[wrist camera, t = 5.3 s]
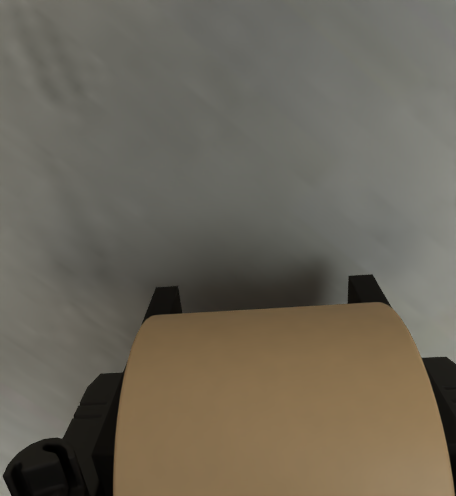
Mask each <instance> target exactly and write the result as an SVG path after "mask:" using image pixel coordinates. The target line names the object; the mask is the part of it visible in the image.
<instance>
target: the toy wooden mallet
mask: <svg viewBox="0 0 456 496" xmlns="http://www.w3.org/2000/svg"><path fill="white" fill-rule="evenodd" d="M113 496H455V493H454V484H453V477H452V471H451V465H450V459H449V453H448V448H447V443H446V439H445V434H444V429H443V425H442V421H441V417H440V414H439V410H438V406H437V402H436V399H435V396H434V393H433V389H432V386H431V383H430V380H429V377H428V374H427V372H426V369H425V366H424V363H423V361H422V358H421V356H420V354H419V351H418V349H417V347H416V344H415V342H414V340H413V338H412V336H411V334H410V332H409V330H408V329H407V327H406V325H405V324H404V322H403V321H402V319H401V318H400V317H399V315H398V314H397V313H396V312H395V311H394V310H393V309H392V308H391V307H390V306H388V305H386V304H384V303H381V302H371V303H354V304H336V305H319V306H302V307H285V308H268V309H251V310H234V311H216V312H199V313H182V314H165V315H154V316H151V317H149V318H148V319H146V320H145V322H144V323H143V324H142V325H141V327H140V329H139V331H138V333H137V335H136V337H135V340H134V342H133V345H132V348H131V351H130V354H129V358H128V362H127V366H126V370H125V374H124V378H123V384H122V389H121V394H120V401H119V408H118V415H117V425H116V435H115V448H114V468H113Z"/></svg>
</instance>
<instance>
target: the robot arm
mask: <svg viewBox="0 0 456 496" xmlns="http://www.w3.org/2000/svg"><path fill="white" fill-rule="evenodd" d="M371 302H381V303H384V304H386V305H388V306H390V304H389V302H388V300H387V299H386V297H385V295H384V294H383V292H382V290H381V289H380V287H379V285H378V283H377V282H376V280H375V278H374V277H373V275H355V276H349V282H348V304H354V303H371ZM390 307H391V306H390ZM391 308H392V307H391ZM165 314H182V308H181V302H180V295H179V289H178V286H171V287H156V288H155V291H154V294H153V296H152V299H151V301H150V304H149V307H148V309H147V312H146V314H145V317H144V320H143V322H142V324H143V323H144V322H145V320H146V319H148V318H149V317H151V316H154V315H165ZM422 361H423V363H424V366H425V369H426V372H427V374H428V377H429V380H430V383H431V386H432V389H433V393H434V396H435V399H436V402H437V406H438V410H439V414H440V417H441V421H442V425H443V429H444V434H445V439H446V443H447V448H448V453H449V459H450V465H451V471H452V477H453V484H454V493H455V496H456V364H455V363H454V362H452V361H451V360H450V359H448V358H447V357H431V358H422ZM127 362H128V361H127ZM126 366H127V364H126ZM126 366H125V369H124V371H123V373H105V374H100V375H99V376H98V377H97V378H96V379H95V380H94V381H93V382H92V383H91V384H90V385H89V386H88V387H87V389H86V391H85V393H84V395H83V397H82V399H81V402H80V406H78V408H77V410H76V412H75V414H74V419H72V420H71V423H70V425H69V427H68V429H67V431H66V433H65V435H64V437H63V439H60V438H49V439H43V440H41V441H38V442H36V443H33V444H31V445H29V446H28V447H26V448H25V449H23V450H22V451H20V452H19V453H18V454H17V455H16V456H15V457H14V458H13V459H12V461H11V462H10V463H9V464H8V466H7V468H6V470H5V472H4V474H3V478H4V480H5V482H6V485H7V487H8V489H9V491H10V493H11V496H113V468H114V448H115V435H116V425H117V415H118V408H119V401H120V394H121V389H122V384H123V378H124V374H125V370H126Z"/></svg>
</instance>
